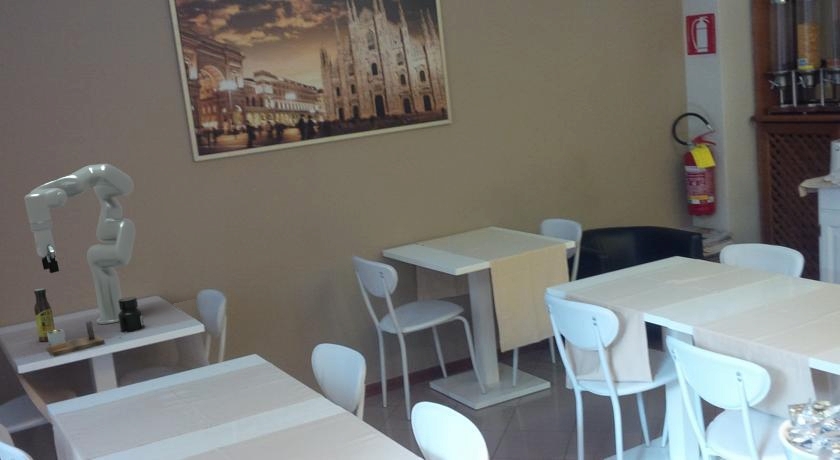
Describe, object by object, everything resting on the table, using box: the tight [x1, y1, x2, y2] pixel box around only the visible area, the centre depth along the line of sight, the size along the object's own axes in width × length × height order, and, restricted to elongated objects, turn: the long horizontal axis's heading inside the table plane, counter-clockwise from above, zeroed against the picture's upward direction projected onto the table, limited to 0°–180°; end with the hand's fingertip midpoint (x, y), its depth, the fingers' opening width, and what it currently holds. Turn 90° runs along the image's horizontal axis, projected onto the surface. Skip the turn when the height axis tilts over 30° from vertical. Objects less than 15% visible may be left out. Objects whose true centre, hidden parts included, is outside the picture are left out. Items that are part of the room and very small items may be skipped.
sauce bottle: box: [33, 287, 56, 342], centre depth 349 cm, size 6×6×20 cm
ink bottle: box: [118, 296, 145, 333], centre depth 351 cm, size 10×9×12 cm
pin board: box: [45, 320, 106, 357], centre depth 333 cm, size 18×12×8 cm, turn 123°
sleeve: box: [47, 328, 67, 350], centre depth 330 cm, size 5×5×6 cm
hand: (51, 270), depth 339 cm, fingers open, 9 cm apart
